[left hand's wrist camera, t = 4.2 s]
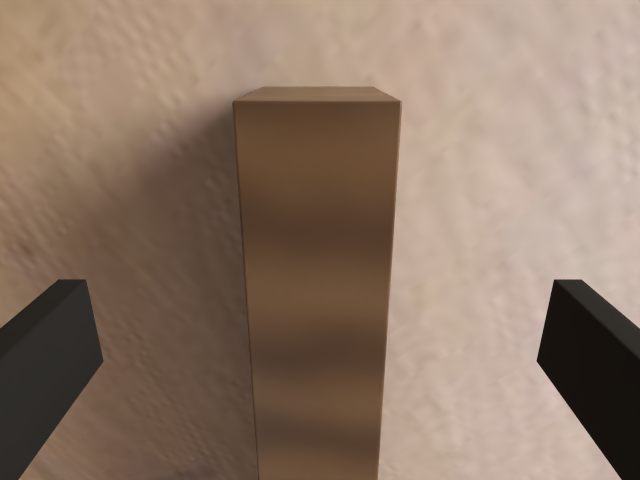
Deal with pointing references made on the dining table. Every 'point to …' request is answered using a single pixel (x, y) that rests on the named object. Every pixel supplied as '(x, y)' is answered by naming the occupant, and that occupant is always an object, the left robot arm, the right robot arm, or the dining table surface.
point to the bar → (317, 273)
